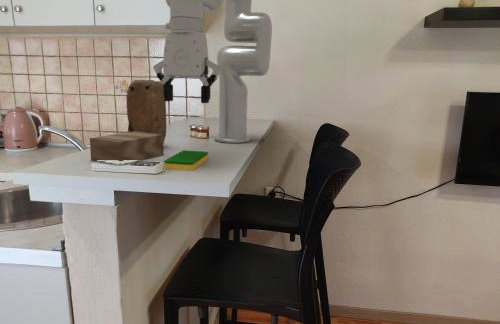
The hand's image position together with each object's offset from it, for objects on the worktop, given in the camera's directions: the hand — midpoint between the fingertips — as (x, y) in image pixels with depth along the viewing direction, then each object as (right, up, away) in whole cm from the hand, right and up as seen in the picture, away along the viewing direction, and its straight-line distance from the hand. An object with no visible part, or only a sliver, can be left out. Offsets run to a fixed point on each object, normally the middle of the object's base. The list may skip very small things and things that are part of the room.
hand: (186, 101), depth 93 cm
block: (-16, -10, +24) cm, 30 cm away
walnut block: (-17, -14, +8) cm, 23 cm away
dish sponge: (0, -16, +4) cm, 16 cm away
